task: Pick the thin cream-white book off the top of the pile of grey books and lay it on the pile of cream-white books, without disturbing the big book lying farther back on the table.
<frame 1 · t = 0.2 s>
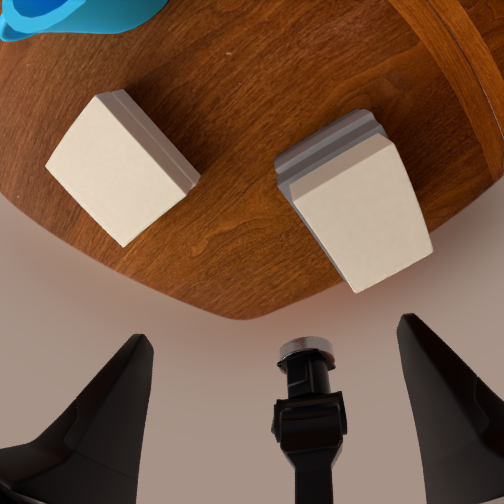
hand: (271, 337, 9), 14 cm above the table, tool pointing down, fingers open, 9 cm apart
grey pile: (346, 181, 20), on the table
white book: (363, 210, 17), point 4 cm above the table, touching grey pile
white pile: (130, 160, 20), on the table
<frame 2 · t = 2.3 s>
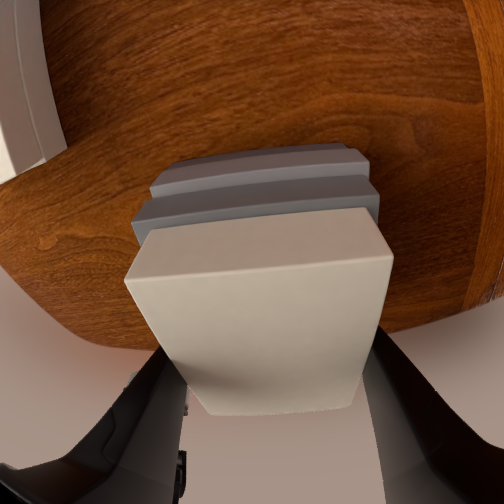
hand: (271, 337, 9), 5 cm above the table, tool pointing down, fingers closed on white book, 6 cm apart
grey pile: (269, 242, 13), on the table
white book: (270, 316, 10), point 5 cm above the table, touching grey pile, gripper
white pile: (4, 94, 8), on the table
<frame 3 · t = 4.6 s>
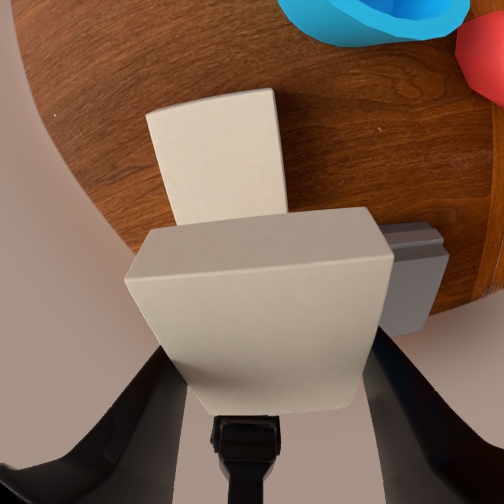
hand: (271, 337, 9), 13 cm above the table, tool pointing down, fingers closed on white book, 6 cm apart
grey pile: (385, 266, 24), on the table
white book: (270, 316, 10), point 12 cm above the table, touching gripper
apple: (476, 57, 12), on the table
white pile: (229, 159, 19), on the table
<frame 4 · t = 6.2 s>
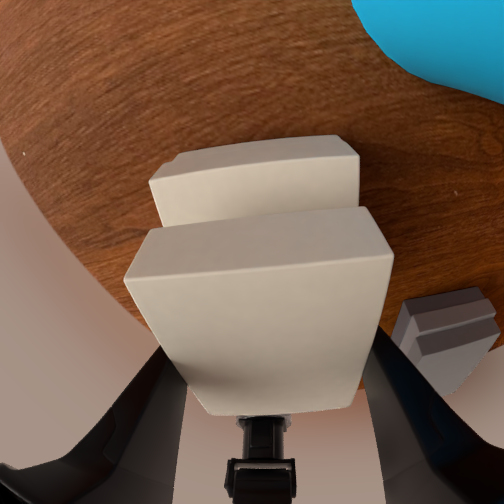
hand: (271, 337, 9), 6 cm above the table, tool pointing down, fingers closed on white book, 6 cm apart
grey pile: (427, 331, 19), on the table
white book: (270, 316, 10), point 6 cm above the table, touching gripper
white pile: (268, 228, 14), on the table
when the fingers open (5 cm above the table, at t = 7.3 s): white book stays where it is, resting on white pile.
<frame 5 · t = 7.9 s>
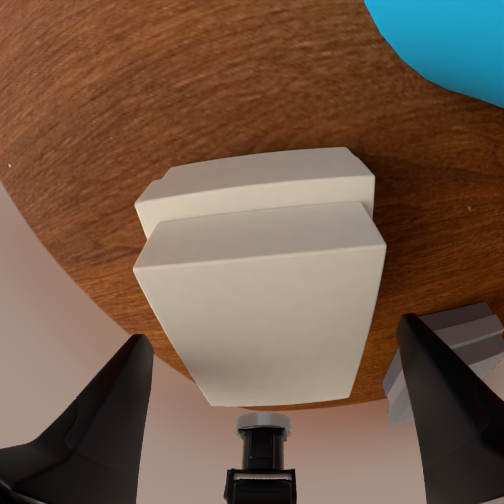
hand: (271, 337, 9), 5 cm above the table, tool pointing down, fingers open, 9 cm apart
grey pile: (432, 346, 18), on the table
white book: (270, 307, 10), point 4 cm above the table, touching white pile
white pile: (269, 248, 13), on the table
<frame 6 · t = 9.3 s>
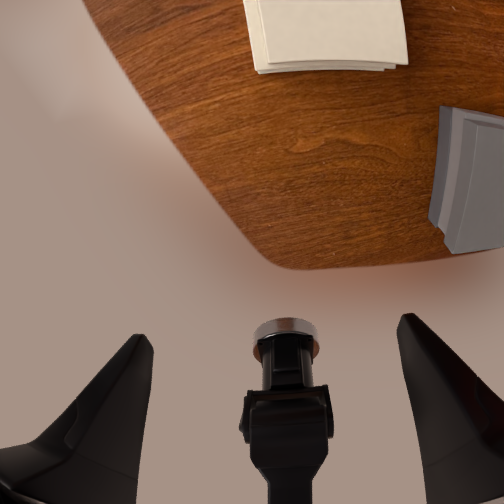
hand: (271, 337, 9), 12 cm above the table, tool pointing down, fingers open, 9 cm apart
grey pile: (469, 166, 16), on the table
white pile: (308, 2, 11), on the table
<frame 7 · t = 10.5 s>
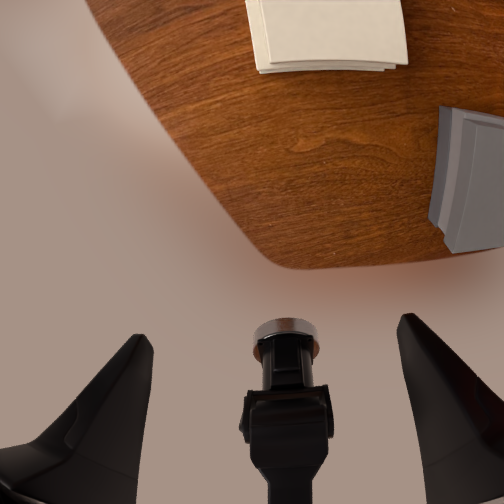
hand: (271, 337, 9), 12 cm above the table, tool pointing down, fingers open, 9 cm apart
grey pile: (468, 166, 16), on the table
white pile: (309, 3, 11), on the table
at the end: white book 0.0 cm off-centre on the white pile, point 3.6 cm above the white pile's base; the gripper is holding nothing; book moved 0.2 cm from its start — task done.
